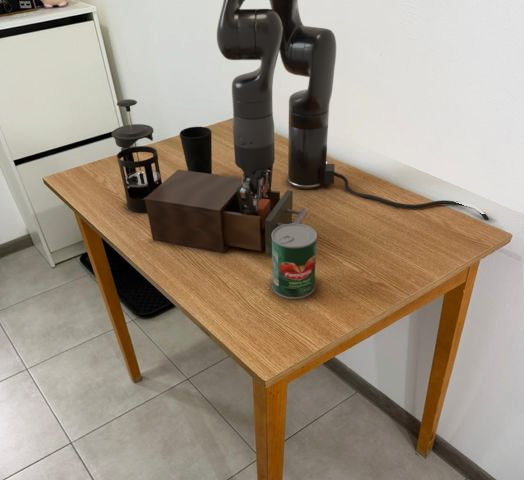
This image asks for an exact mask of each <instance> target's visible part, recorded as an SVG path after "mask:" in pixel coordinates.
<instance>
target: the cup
mask: <svg viewBox="0 0 524 480" xmlns="http://www.w3.org/2000/svg"><path fill="white" fill-rule="evenodd" d="M179 138H180V142H181V146H182V151H183V156H184V161H185V164H186V168H187V171H193V172H200V173H207V174H213V159H212V158H213V157H212V156H213V154H212V152H213V151H212V150H213V149H212V147H213V145H212V144H213V143H212V138H213V137H212V130H211V129H210V128H209V127H205V126H190V127H186V128H183V129H182V130H181V131H180V132H179Z"/></svg>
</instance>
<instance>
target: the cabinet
mask: <svg viewBox="0 0 524 480" xmlns="http://www.w3.org/2000/svg"><path fill="white" fill-rule="evenodd" d="M242 179H243V177H237V176H236V177H235V176H230V175H229V176H228V175H222V174H213V173H212V174H207V173H200V172H193V171H188V170H183V169H177V170H175V171H174V172H173V173H172V174H171V175H170V176H168V178H166V179H165V180H164V181H162V184H161V185H160V186H159V187H157V188H156V189H155V190H154V191H153V192H152V193H150V194H149V195H148V196H145V197H144V199H145V203H146V208H147V213H146V214H147V218H148V222H149V228H150V233H151V237H152V241H154V242H160V243H166V244H172V245H176V246H182V247H187V248H193V249H199V250H205V251H210V252H216V253H220V254H221V253H222V254H225V252H226V251H227V250H228V248H229V247H230V246H229V245H224V234H223V223H222V211H223V210H224V209H225V208H226V207H227V205H228V204H229V203H230V202H231V201H232V200H233V199H234V197H235V196H236V195H237V188H238V187H241V188H242V186H243V183H242Z"/></svg>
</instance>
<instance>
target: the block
mask: <svg viewBox="0 0 524 480" xmlns="http://www.w3.org/2000/svg"><path fill="white" fill-rule="evenodd" d="M253 204H254V201H253ZM243 214H246V213H243ZM269 214H270V200H269V199H262V198H261V200H260V201H259V202H258V216H261V229H264V228H265V219H266V218H267V217H268V215H269Z"/></svg>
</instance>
